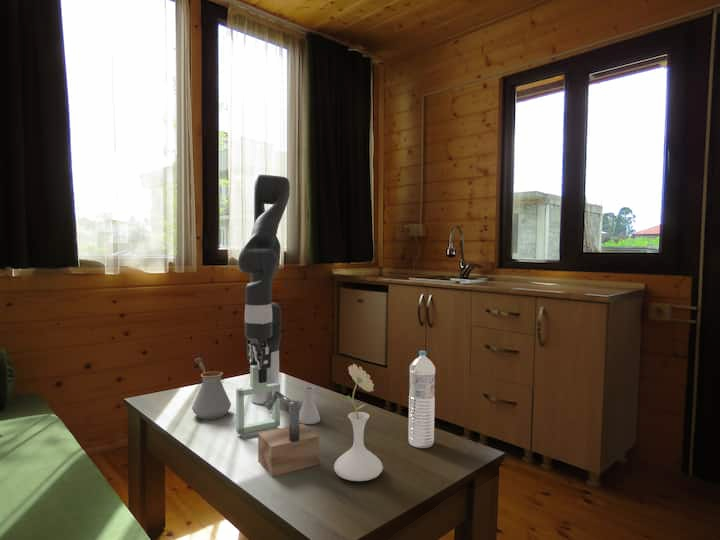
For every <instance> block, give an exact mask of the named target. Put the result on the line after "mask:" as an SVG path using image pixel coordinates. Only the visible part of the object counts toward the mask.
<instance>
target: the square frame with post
mask: <svg viewBox="0 0 720 540" xmlns="http://www.w3.org/2000/svg"><path fill="white" fill-rule="evenodd" d="M249 372H250V373H249V387H247V386H246V387H240V388H236V389H235V390H236V391H235V392H236V393H235V394H236V396H235V397H236V398H235V399H236V400H235V403H236V405H235V406H236V413H235V414H236V420H235V422H236V424H235V425H236V433H237V435H240V436H241V437H242V439H243V438H247V439H251V438H255V436H256V437H258V433H261V432H265V431H270V430H275V429H280V428H279V427H281V399H280V398H277V399H276V401H275V403H274V405H273V407H272V415H271V416H272V417H271V419H268V420H263V421H258V422H253V423H252V422H251V423H248V424H245V400H244V399H245V396H249V395H250V396H251V394H257V393H263V392H269V391H273V395H274V393H275V392H276V391H279V392H280V393H281V384H280V383H279V384H278V383H273V384H267V382H265V383H259V382H258V365H251V364H250V366H249ZM250 437H251V438H250Z"/></svg>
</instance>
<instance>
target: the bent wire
mask: <svg viewBox="0 0 720 540" xmlns="http://www.w3.org/2000/svg"><path fill="white" fill-rule="evenodd" d="M277 398H280V401H282V402H284V404H286V405H288V427H289V441H291V442H297V441H299V424H300V423H299V412H300V401H299V400H294V399H293V400H291V399H290V398H288V397H287V396H286V395H284V394H283V393H281V391H280V392H279V391H276V392H275V393H274V395H273V397H272V399H271V401H270V403H269V402H267V401H265V402H264V404H263V405H264V406H265V407H266V408H267V409H268V410H273V405H274V403H275V401H276V399H277Z"/></svg>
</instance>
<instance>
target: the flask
mask: <svg viewBox="0 0 720 540" xmlns="http://www.w3.org/2000/svg"><path fill="white" fill-rule="evenodd" d="M303 391H304V396H303V401H302V404H301V407H300V409H299V424H304V425H314V424H317V423H319V422H320V421H321V416H320V413H319V410H318V408H317V405H316V401H315V398H314V391H315V387H314V386H304V387H303Z"/></svg>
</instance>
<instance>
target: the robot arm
mask: <svg viewBox="0 0 720 540" xmlns="http://www.w3.org/2000/svg"><path fill="white" fill-rule="evenodd" d="M290 184H291V183H290V181H289V179H288V177H285V176H281V175H280V176H279V175H272V174H271V175H270V174H257V176H256V178H255V181H254V184H253V185H254V188H253V227H252V230H251V235H250V238H249V239H248V241H247V242H246V244H245V245H244V246H243V248H241V251H240V252H239V253H240V254H239V255H238V260H237V264H238V267H239V270H240V271H241V272H242V273H244V274H249V275H250V279H249V281H250V282H249V283H247V284H246V286H245V306H244V307H245V309H244V337H245V338H246V353H247V360H248V362H249V364H250V366H251V365H258V382H259V383H265V382H267V384H273V383H278V384H280V343H281V339H282V338H281V336H282V318H283V317H282V309H281V306H280V305H279V304H278V303H277V302H274V301H272V287H273V281H274V277H275V274H276V273H277V271H278V269H279V267H280V260H281V243H280V241H279V238H278V236H277V234H278V229H279V226H280V222H281V221H282V217H283V215H284V213H285V210H286V208H287V205H288V203H289V198H290V194H291V193H290V189H291V186H290ZM265 205H271V206H270V207H269V208H268V209H266V208H265V207H266V206H265ZM250 397H251V398H250V399H251V400H250V401H251V402H252V403H253V404H257V405H264V402H265V401H267V402H269V403H270V401H271V399H272V397H273V391H269V392H263V393H257V394H251V395H250Z"/></svg>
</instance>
